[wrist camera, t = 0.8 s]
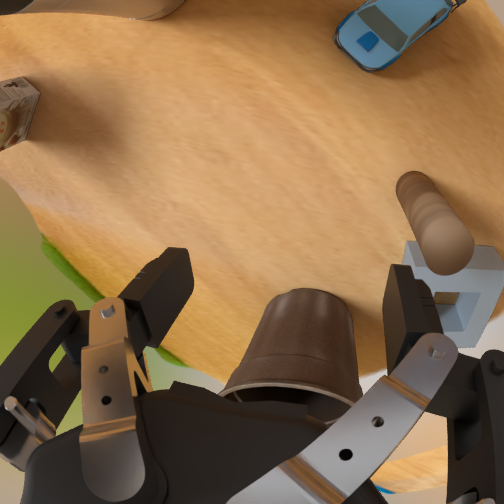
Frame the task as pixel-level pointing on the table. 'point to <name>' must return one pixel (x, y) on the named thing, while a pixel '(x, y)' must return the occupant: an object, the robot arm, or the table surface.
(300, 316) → the plant pot
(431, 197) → the dowel
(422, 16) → the toy car
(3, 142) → the coffee box
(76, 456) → the robot arm
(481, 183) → the table surface
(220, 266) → the table surface
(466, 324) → the socket block
